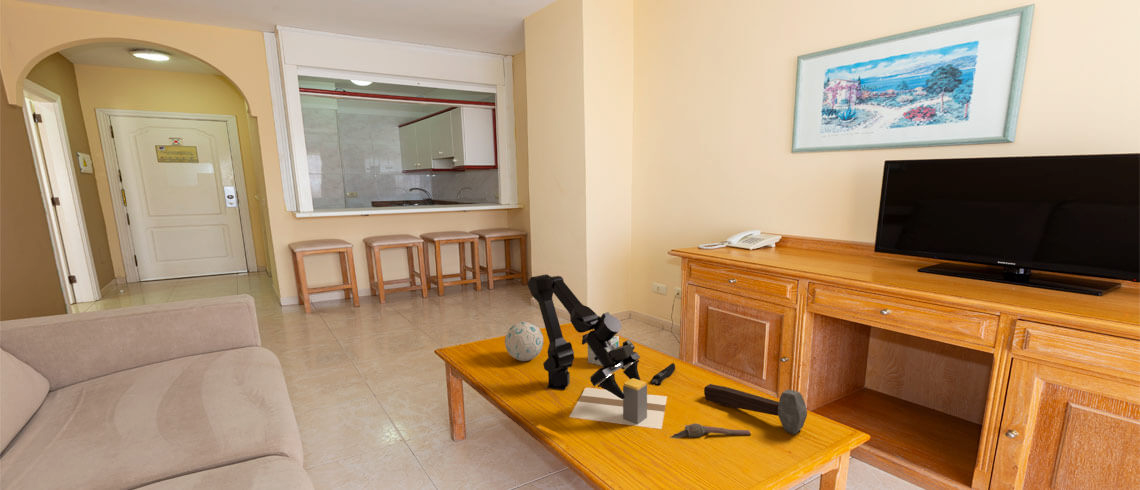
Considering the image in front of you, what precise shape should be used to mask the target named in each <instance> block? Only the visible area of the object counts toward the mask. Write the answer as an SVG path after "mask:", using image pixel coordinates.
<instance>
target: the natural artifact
mask: <svg viewBox="0 0 1140 490" xmlns="http://www.w3.org/2000/svg"><path fill="white" fill-rule="evenodd" d="M704 434H719V435H721V434H722V435H732V436H734V435H742V436H743V435H744V436H747V435H748V436H751V434H752V433H751V431H750V430H749V429H731V428H730V429H728V428H724V427H716V426H707V425H702V424H700V423H691V424H688V425H687V424H685V425H684V429H683V430H680V431H679V432H676V433H673V435H671V436H670V437H669V438H670V439H671V438H672V439H681V438H685V437H687V438H688V439H689V438H700V437H702V436H704Z"/></svg>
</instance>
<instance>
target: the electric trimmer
mask: <svg viewBox="0 0 1140 490" xmlns="http://www.w3.org/2000/svg"><path fill="white" fill-rule="evenodd" d="M675 370H676V364H675V363H674V362H672V363H670V364H669V365H667V366H666V367H665V368H664V369H662V370H660V371H659V372H657V373H656V374H654V376H652V378H651V380H650V384H651V385H654V386H658V387H659V386H661V384H662V382H664V380H665V379H666V378H669V377H671V376H672V375H673V374H674V372H675Z"/></svg>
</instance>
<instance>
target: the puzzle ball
mask: <svg viewBox="0 0 1140 490" xmlns="http://www.w3.org/2000/svg"><path fill="white" fill-rule="evenodd" d="M543 335H544V334H543V333H542V331H541V330H540V328H539V327H538V326H537V325H535V324H533V323H531V322H529V321H528V322H527V321H523V322H521V321H520V322H517V323H516V324H514V325H512V326H511V327H510V328H509V330H508V331H507V333H506V335H505V338H504V345H505V349H506V351H507V353H508V354H509V356H511V357H512V358H513V359H516V360H518V361H520V362H527V361H531V360H533V359H535V358H536V357H537V356H538V355H540V354H541V351H542V349H543V346H544V336H543Z"/></svg>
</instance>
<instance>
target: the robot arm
mask: <svg viewBox="0 0 1140 490" xmlns="http://www.w3.org/2000/svg"><path fill="white" fill-rule="evenodd" d="M527 287H528V289H529V291H530V294H531V296H532V298H533V299H535V301H536V302H538V305H539V306H538V307H539V309H540V313H541V317H542V320H543V324H544V328H545V331H546V335H547V338H548V341H549V342H548V343H549V345H548V348H547V356H548V357H547V359H546V360H545V361H544V362H543V363H542V365H543V369H544V371H546V372H547V373H548V375H547V377H548V380H547V381H548V383H547V384H546V385H547V386H546V388H547V389H551V390H552V389H553V390H563V391H565V390H566V389H567V387H568V386H569V385H570V380H571V379H570V378H571V377H570V376H571V375H570V371H569V368H572V366H573V363H574V359H575V351H574V349H573V345H572V342H570V341H567V340H566V339H565V338H564V336H563V335H564V334H563V332H562V328H561V324H560V322H559V318H558V315H557V311H556V307H555V303H554V300H553V296H554V295H555V296H556V298H557V299H558V300H559V302H560V303H561V305H562V306H563V307H564V308H565V310H566V311H567V312H568V314H569V318H570V322H571V325H572V326H573V328H574V330H575V331H576V332H577V333H581V334H582V333H585V332H588V333H585V334H583V335H582V340H581V345H586V344H587V346H588V345H589V347H590V348H591V350H592V351H593V352H594V354H595V355H596V357H595V358H594V359H595V361H597V360H599V361H600V363H601V364H602V366H601V367H600V368H598V369H597V370H596V371H595V372H594V373H593V374H591V376H590V383H591V384H592V386H593V387H596V386H597V387H598V388H600V389H604V390H607V391H609V392H611V393H612V394H614V395H616V396H617V397H619V398H621V399H624V398H625V396H624V394H623V390H622V389H621V388H620V386H619V384H618V383H617V381H616V378H615V377H616V375H615V372H617V371H618V370H620V369H621V370H623V371H622V373H623V374H624V375H625V376H626V377H628V379H629V380H630V379H632V378H634V379H637V380H641V377H640V374H639V371H638V365H639V362H640V359H641V356H640V355H639V354H638V352H637V351H634V350H635V345H634V343H633V342H632V341H631V340H630V339H628V340H625V341H623V342H622V345H621V346H620V345H619V347H617V346H616V345H614V344H613V345H611V344H610V343H609V341H610V340H611V339H612V338H613V337H614V336H617V334H618V333H619V332H620V331H621V330H622V323H621V320H620V319H618V318H617V317H616V316H614V315H611V314H610V313H609V312H608V311H607V312H604V313H602V314H601V316H600V315H598V314H597V313H596V312H595V311H594V310H592V308H591V307H589V306H587V305H584V304H583V303H582V302H581V301H580V300H579V299H578V298H577V297H576V295H575V294H574V293H573V291H572V290H571V289H570V288H569V286H568V285H567V284H566V283H565V280H564V278H563V276H561V275H554V276H551V275H549V274H547V273H545V274H541V275H535V276H531V277H530V278H529V280H528V282H527Z"/></svg>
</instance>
